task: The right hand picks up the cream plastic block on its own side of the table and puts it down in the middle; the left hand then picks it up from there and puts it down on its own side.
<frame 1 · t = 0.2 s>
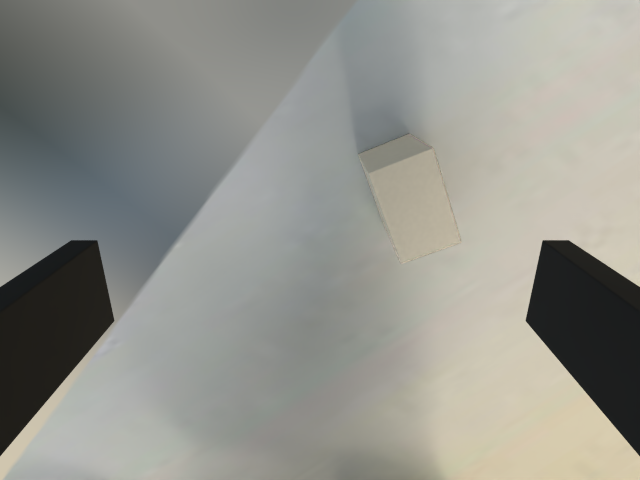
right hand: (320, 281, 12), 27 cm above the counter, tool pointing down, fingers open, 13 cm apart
block: (396, 183, 39), on the counter
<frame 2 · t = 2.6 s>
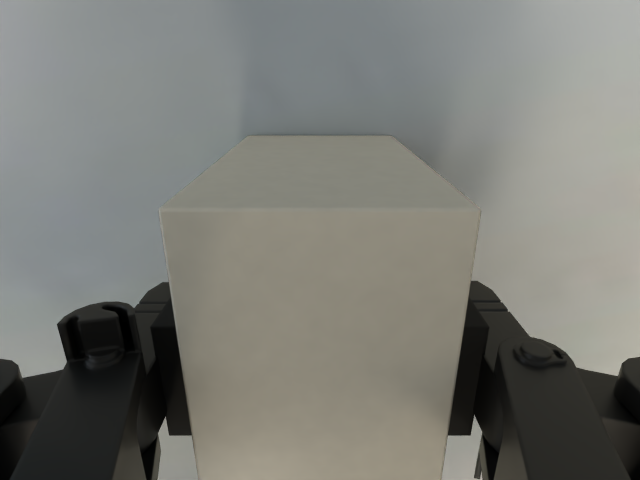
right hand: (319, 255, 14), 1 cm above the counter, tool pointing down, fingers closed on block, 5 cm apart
block: (319, 242, 15), on the counter, touching right hand
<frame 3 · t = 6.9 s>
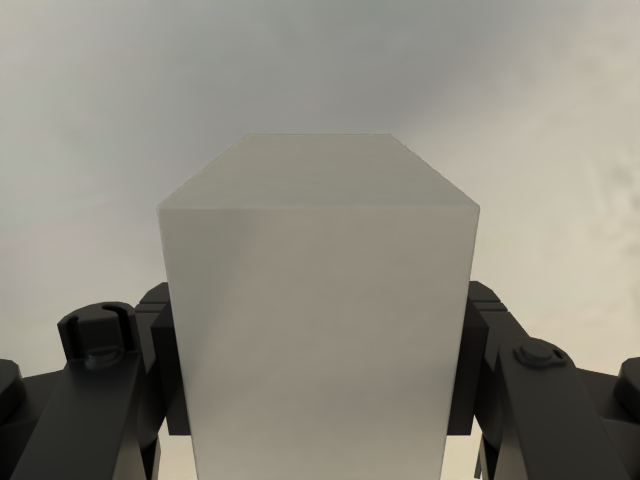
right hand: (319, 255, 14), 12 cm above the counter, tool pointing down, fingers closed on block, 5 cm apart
block: (319, 241, 15), point 11 cm above the counter, touching right hand
when the right hand's fingers open (2 cm above the counter, at t = 11.3 s): block drops 1 cm, on the counter.
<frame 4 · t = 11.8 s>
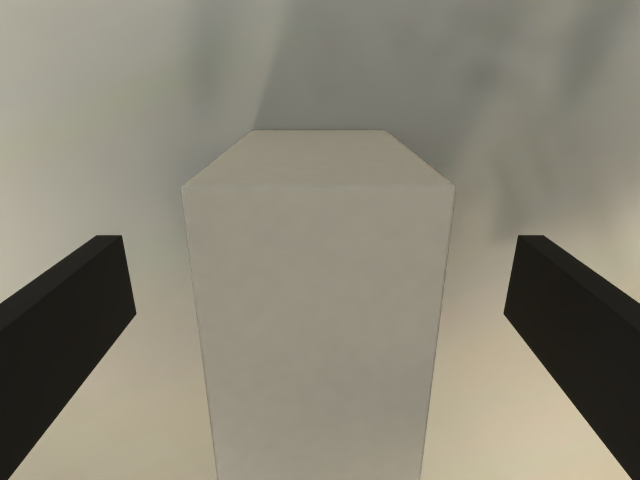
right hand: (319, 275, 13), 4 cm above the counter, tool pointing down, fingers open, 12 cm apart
block: (319, 230, 17), on the counter
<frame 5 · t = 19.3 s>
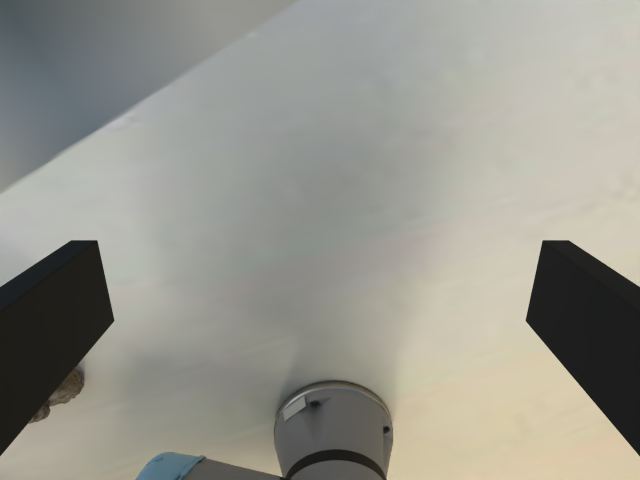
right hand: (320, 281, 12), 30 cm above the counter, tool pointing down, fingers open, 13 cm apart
fossil: (0, 377, 52), on the counter
when the left hand's fingers open (5 cm above the counter, at t = 31.6 s): block drops 1 cm, on the counter.
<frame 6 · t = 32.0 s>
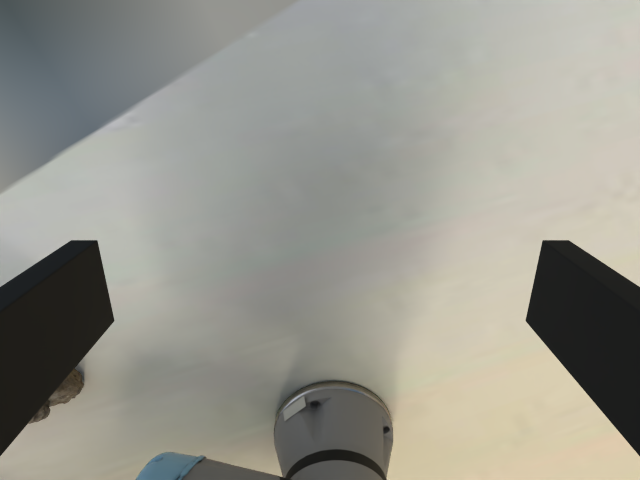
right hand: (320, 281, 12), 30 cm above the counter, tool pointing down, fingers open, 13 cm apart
fossil: (0, 377, 52), on the counter
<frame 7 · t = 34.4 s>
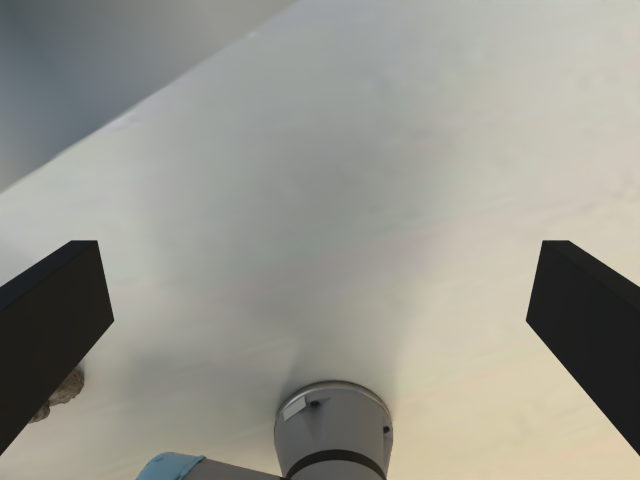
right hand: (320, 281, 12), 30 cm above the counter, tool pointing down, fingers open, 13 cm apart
fossil: (0, 377, 52), on the counter
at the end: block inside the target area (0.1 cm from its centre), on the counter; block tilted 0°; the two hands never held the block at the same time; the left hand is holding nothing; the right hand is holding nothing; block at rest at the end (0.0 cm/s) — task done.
